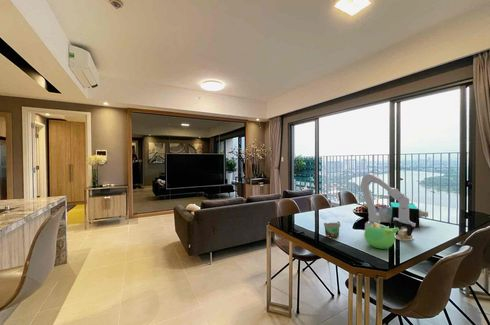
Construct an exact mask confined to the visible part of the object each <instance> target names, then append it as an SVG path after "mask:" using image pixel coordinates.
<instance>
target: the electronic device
mask: <svg viewBox="0 0 490 325" xmlns="http://www.w3.org/2000/svg"><path fill="white" fill-rule="evenodd" d="M389 203H390V205H389V206H390V207H389V208H391V222H390V223H391V225H394V226H395V224H394V223H393V222H394V220H393V218H399V202H398V201H397V202H396V201H390V202H389ZM428 217H429V212H428V211H425V210H421V209H419V207H417V206H416V205H415V203H412V202H411V203H410V202H409V220H410V221H411V222H413V223H415V228H416V229H417V228H419V229H420V218H428ZM406 225H408V224H405V223H402V225H401V227H402V226H403V227H406Z"/></svg>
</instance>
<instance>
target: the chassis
mask: <svg viewBox="0 0 490 325" xmlns="http://www.w3.org/2000/svg"><path fill="white" fill-rule="evenodd" d="M395 240H397V241H398V240H399V241H401V242H405V241H406V242H407V241H415V237H413V234H411V238H406V239H403V238H401V236H399V237H398V234H395Z"/></svg>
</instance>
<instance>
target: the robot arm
mask: <svg viewBox="0 0 490 325" xmlns="http://www.w3.org/2000/svg"><path fill="white" fill-rule="evenodd" d="M371 183H372V184H377V185H379V186H380V187H381V188H383V189H385V190H386V191H387V194H388V195H389V196H390V197H392V198H393V199H394V200H396V201H397V202H399V218H393V220H394V222H393V223H394V224H395V225H394V226H395V228H399V229H402V223H405V224H408V225H406V226H405V229H407V235H408V236H411V235H413V232H414V230H415V229H416V227H415V223H413V222H411V221H410V220H409V203H410V199H409V197H408V196H407V195H405V193H402V192H401V191H399V189H398V188H395V187H391V186H390V185H388V184H387V183H386V182H385V181H384V180H382V178H380V177H378V176H377V175H375V174H374V173H372V172H369V173H366V174H364V176H363V177H362V178H361V182H360V186H359V187H360V189H361V192H362V195H363V198H364V201H365V204H366V206H367V214H368V221H366V222H365V223H364V231H365V230H366V229H367V227H368V226H370V225H373V224H374V222H376V223H378V224H381V222H380V221H379V218H380V214H379V213H378V211H377V207H376V206H375V203H374V200H373V197H372V194H371V190H370V188H369V186H370V185H371ZM396 233H398V231H397V232H396Z"/></svg>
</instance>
